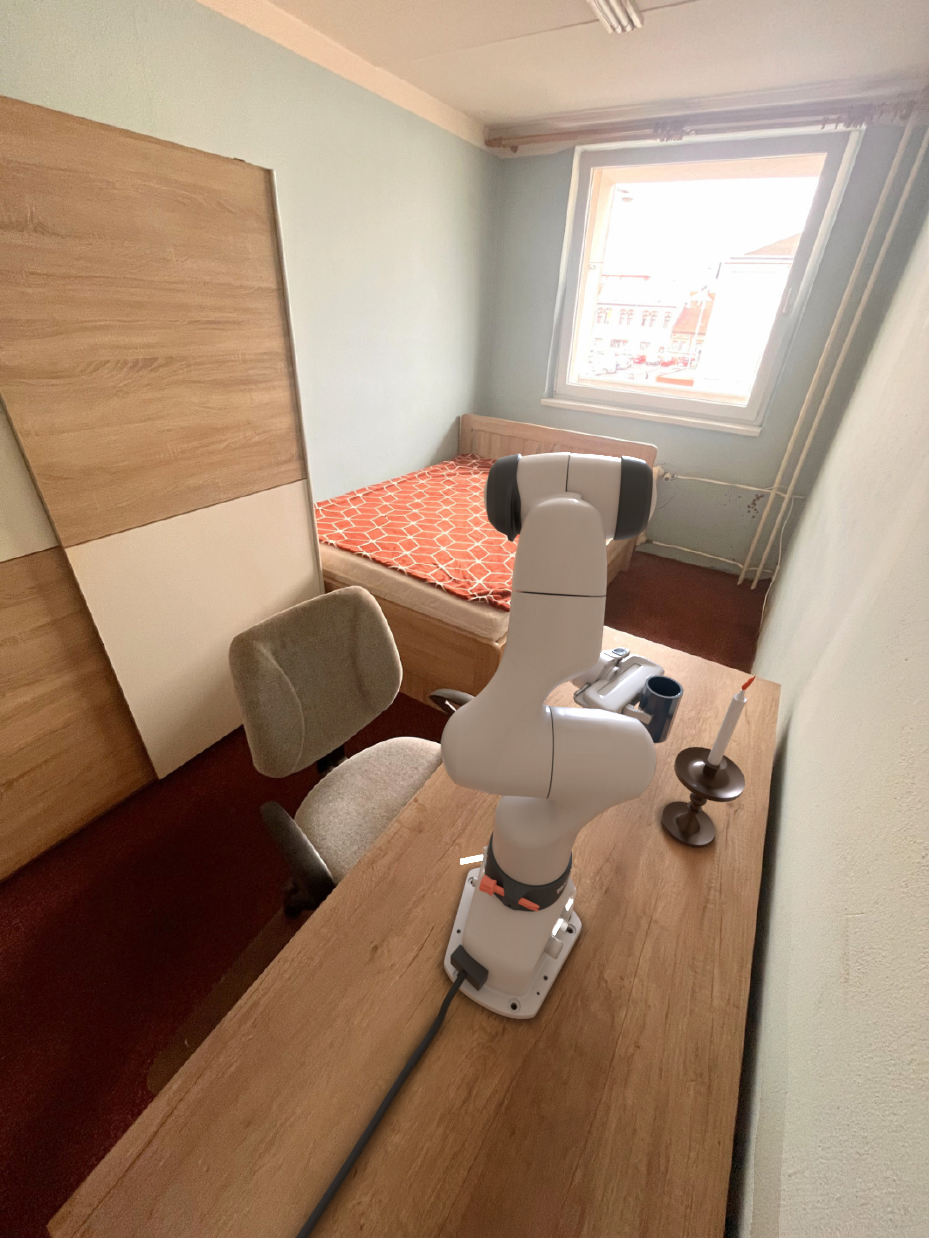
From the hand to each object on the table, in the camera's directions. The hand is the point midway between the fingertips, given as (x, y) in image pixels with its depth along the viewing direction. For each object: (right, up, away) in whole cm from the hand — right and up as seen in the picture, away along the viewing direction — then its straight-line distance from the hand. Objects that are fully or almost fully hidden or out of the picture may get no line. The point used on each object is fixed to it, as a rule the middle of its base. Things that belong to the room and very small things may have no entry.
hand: (662, 709), depth 94 cm
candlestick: (+4, -21, -1) cm, 21 cm away
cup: (-1, -5, +4) cm, 6 cm away
